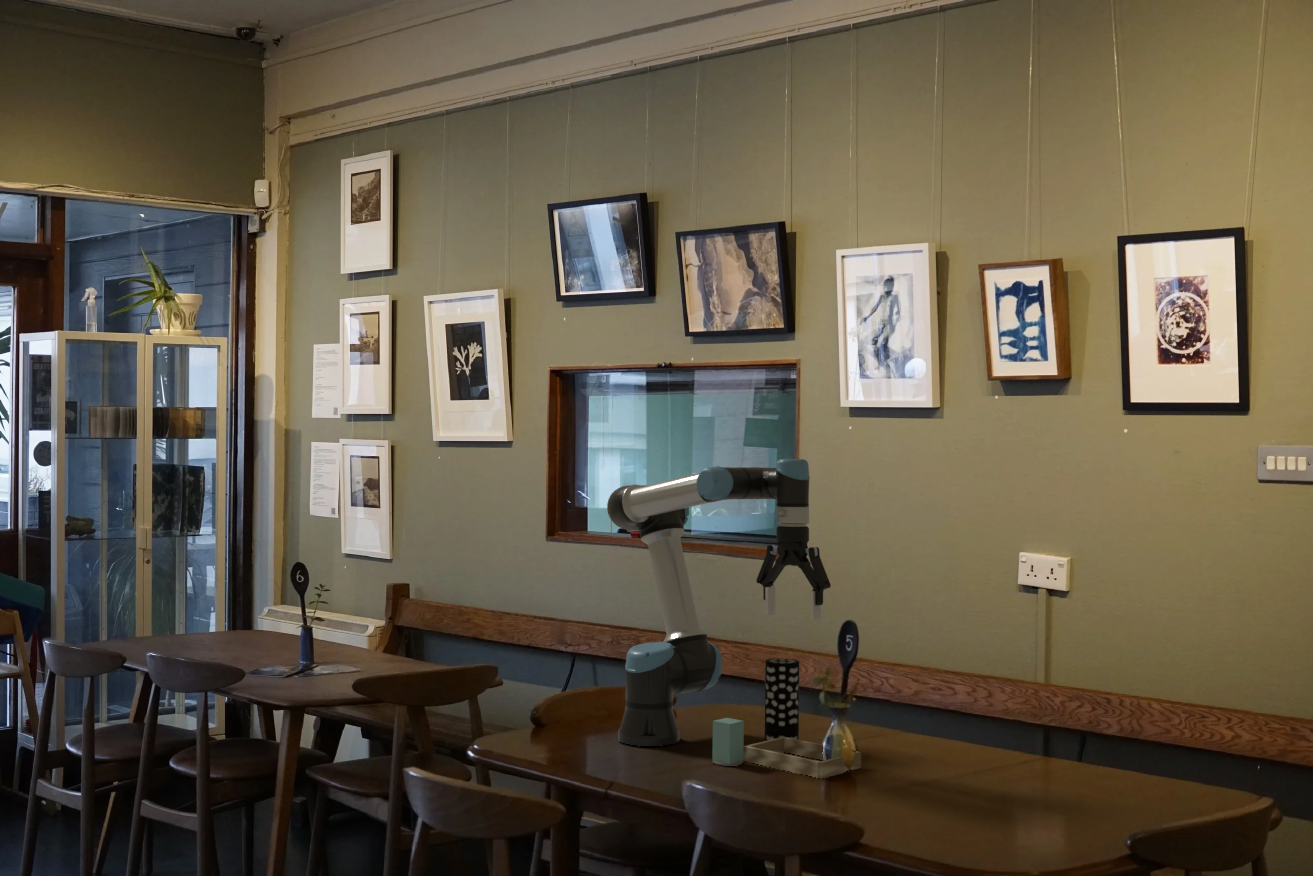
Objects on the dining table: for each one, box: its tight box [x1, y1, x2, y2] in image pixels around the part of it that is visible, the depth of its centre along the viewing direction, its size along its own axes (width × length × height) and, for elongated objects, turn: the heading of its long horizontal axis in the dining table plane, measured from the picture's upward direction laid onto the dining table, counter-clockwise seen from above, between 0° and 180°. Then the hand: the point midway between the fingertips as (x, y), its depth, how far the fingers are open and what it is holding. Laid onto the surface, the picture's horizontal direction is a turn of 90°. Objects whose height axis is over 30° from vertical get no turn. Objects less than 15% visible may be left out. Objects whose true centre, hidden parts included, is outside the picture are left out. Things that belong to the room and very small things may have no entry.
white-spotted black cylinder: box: [764, 657, 800, 741], centre depth 306 cm, size 8×8×20 cm
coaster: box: [712, 761, 745, 765], centre depth 284 cm, size 7×7×1 cm
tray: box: [743, 737, 862, 780], centre depth 283 cm, size 22×15×4 cm
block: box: [711, 717, 745, 764], centre depth 284 cm, size 5×5×9 cm
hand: (792, 617), depth 289 cm, fingers open, 13 cm apart
